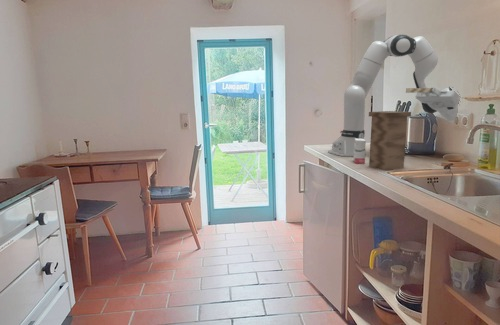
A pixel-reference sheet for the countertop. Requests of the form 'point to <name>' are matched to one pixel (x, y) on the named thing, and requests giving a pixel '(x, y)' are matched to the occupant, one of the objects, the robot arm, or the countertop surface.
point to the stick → (417, 90)
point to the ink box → (359, 151)
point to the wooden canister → (388, 139)
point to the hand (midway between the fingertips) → (428, 89)
